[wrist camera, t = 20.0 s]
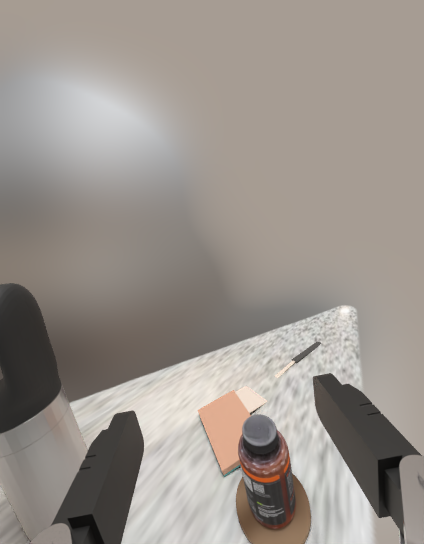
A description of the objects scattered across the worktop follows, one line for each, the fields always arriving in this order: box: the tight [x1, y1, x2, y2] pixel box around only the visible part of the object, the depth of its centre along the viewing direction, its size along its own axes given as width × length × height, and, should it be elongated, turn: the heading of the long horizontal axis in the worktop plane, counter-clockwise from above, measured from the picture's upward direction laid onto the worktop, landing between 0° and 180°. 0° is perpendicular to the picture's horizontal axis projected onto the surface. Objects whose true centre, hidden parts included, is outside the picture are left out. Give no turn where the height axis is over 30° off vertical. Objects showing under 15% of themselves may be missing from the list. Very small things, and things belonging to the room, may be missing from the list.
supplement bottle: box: [238, 415, 296, 529], centre depth 27 cm, size 6×6×11 cm
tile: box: [198, 390, 251, 477], centre depth 39 cm, size 1×8×12 cm
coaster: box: [236, 474, 311, 544], centre depth 28 cm, size 9×9×1 cm
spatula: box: [235, 342, 321, 413], centre depth 52 cm, size 6×29×2 cm, turn 126°
